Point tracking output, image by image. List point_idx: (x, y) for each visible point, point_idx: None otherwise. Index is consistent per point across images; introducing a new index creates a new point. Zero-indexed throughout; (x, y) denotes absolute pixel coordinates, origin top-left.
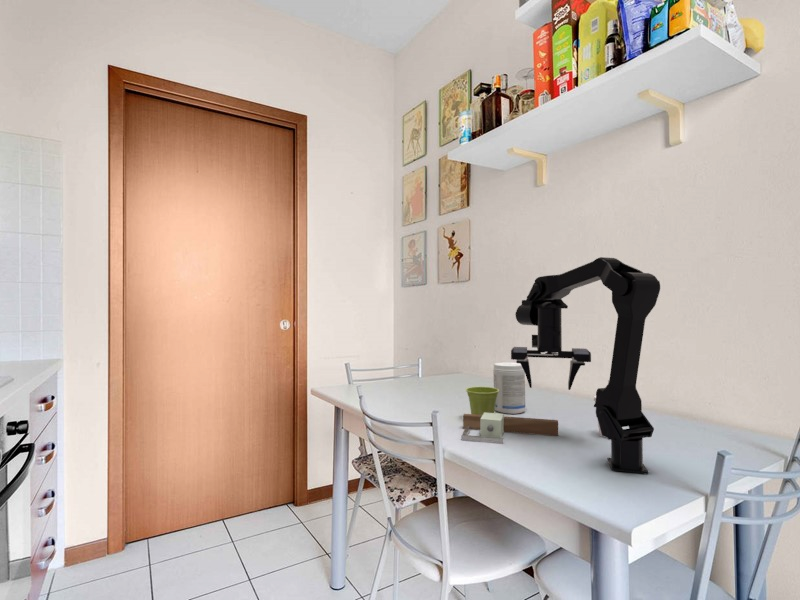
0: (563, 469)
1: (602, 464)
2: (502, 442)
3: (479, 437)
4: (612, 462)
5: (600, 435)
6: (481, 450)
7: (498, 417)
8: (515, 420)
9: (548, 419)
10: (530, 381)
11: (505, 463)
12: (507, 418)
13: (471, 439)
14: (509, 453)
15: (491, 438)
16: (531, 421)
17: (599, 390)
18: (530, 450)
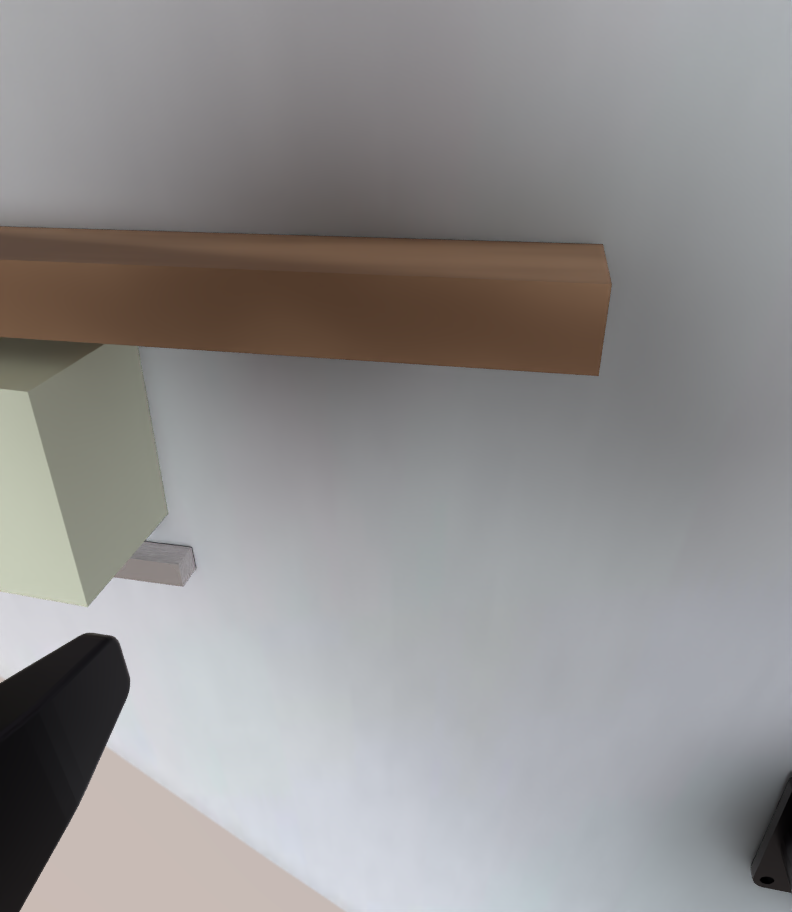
0: (512, 844)
1: (735, 806)
2: (188, 571)
3: None
4: (783, 857)
5: None
6: None
7: (37, 525)
8: (165, 342)
9: (499, 281)
10: (50, 826)
11: (267, 794)
12: (84, 342)
13: None
14: (261, 698)
15: (114, 576)
16: (317, 352)
17: None
18: (362, 655)
